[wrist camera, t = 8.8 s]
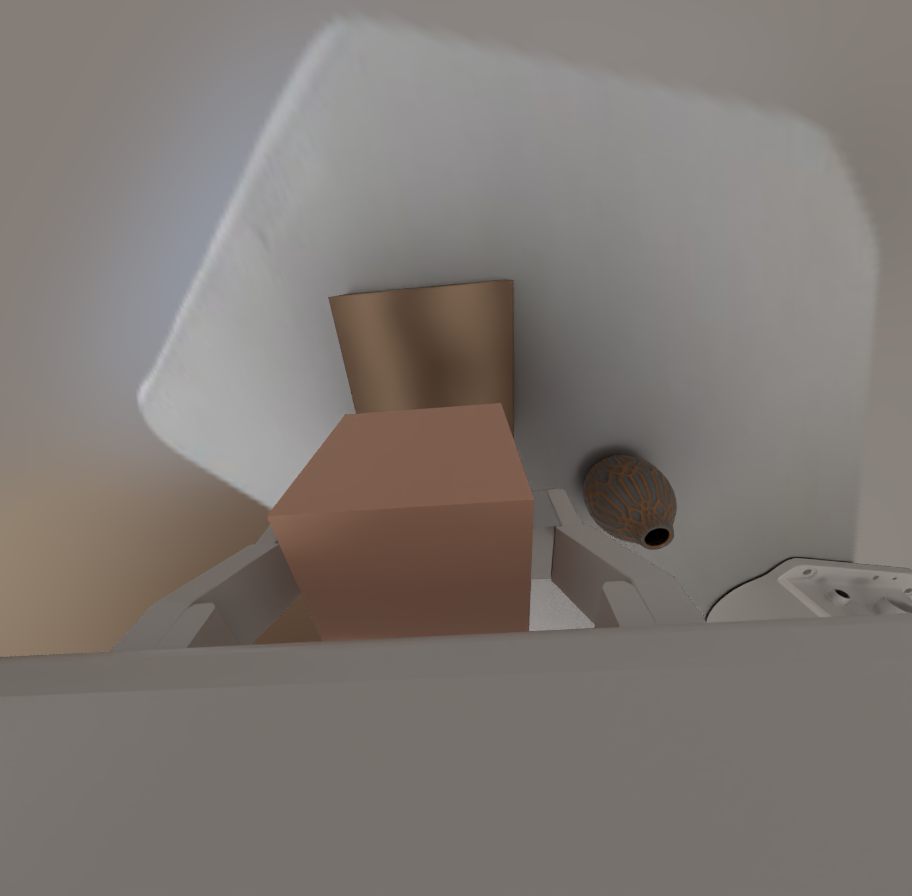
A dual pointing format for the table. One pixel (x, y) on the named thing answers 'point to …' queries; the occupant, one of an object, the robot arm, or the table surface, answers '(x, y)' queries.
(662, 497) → the vase
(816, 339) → the table surface
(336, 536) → the block
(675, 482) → the table surface
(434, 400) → the board
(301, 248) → the table surface
